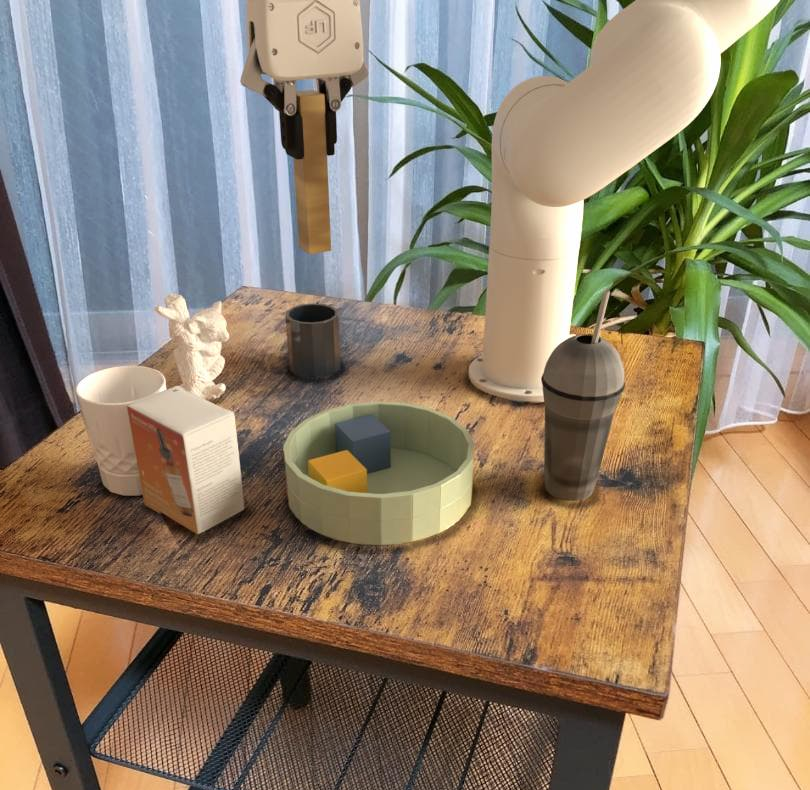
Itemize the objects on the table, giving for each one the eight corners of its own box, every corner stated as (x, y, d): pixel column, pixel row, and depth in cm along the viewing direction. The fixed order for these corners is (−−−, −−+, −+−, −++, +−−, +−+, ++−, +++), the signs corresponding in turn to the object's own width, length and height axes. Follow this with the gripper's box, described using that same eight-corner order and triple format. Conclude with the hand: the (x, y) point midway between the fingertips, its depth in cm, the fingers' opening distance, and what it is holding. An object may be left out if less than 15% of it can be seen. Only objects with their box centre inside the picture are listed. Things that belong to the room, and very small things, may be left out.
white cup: (160, 504, 84) (142, 408, 79) (81, 495, 86) (58, 399, 80) (193, 461, 91) (179, 369, 85) (119, 453, 92) (100, 361, 86)
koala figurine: (185, 418, 98) (169, 311, 91) (152, 397, 102) (134, 293, 95) (250, 393, 103) (239, 290, 96) (216, 374, 107) (203, 274, 100)
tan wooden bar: (321, 243, 97) (313, 89, 89) (331, 250, 96) (324, 94, 87) (298, 247, 96) (288, 91, 88) (308, 254, 94) (299, 96, 86)
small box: (144, 506, 84) (123, 404, 78) (192, 482, 88) (176, 382, 81) (198, 540, 80) (181, 435, 74) (247, 513, 83) (235, 410, 77)
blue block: (372, 449, 92) (371, 413, 89) (390, 467, 89) (390, 431, 86) (336, 458, 90) (334, 423, 88) (353, 477, 87) (352, 441, 85)
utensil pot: (327, 355, 111) (324, 299, 107) (349, 374, 107) (347, 317, 103) (281, 365, 109) (277, 309, 105) (302, 385, 105) (298, 327, 100)
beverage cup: (562, 464, 90) (586, 265, 79) (623, 493, 86) (658, 287, 75) (514, 491, 86) (532, 286, 75) (575, 523, 82) (604, 310, 70)
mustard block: (348, 486, 86) (347, 449, 84) (368, 506, 83) (367, 469, 81) (309, 497, 84) (307, 460, 82) (328, 518, 82) (326, 480, 79)
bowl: (414, 435, 95) (415, 387, 92) (507, 516, 83) (511, 464, 80) (260, 476, 88) (255, 426, 85) (336, 572, 76) (333, 517, 73)
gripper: (225, -65, 74) (247, 173, 85) (399, -68, 80) (399, 153, 91) (195, -69, 79) (219, 156, 90) (360, -71, 86) (365, 138, 96)
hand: (309, 152), depth 90 cm, fingers closed on tan wooden bar, 2 cm apart
